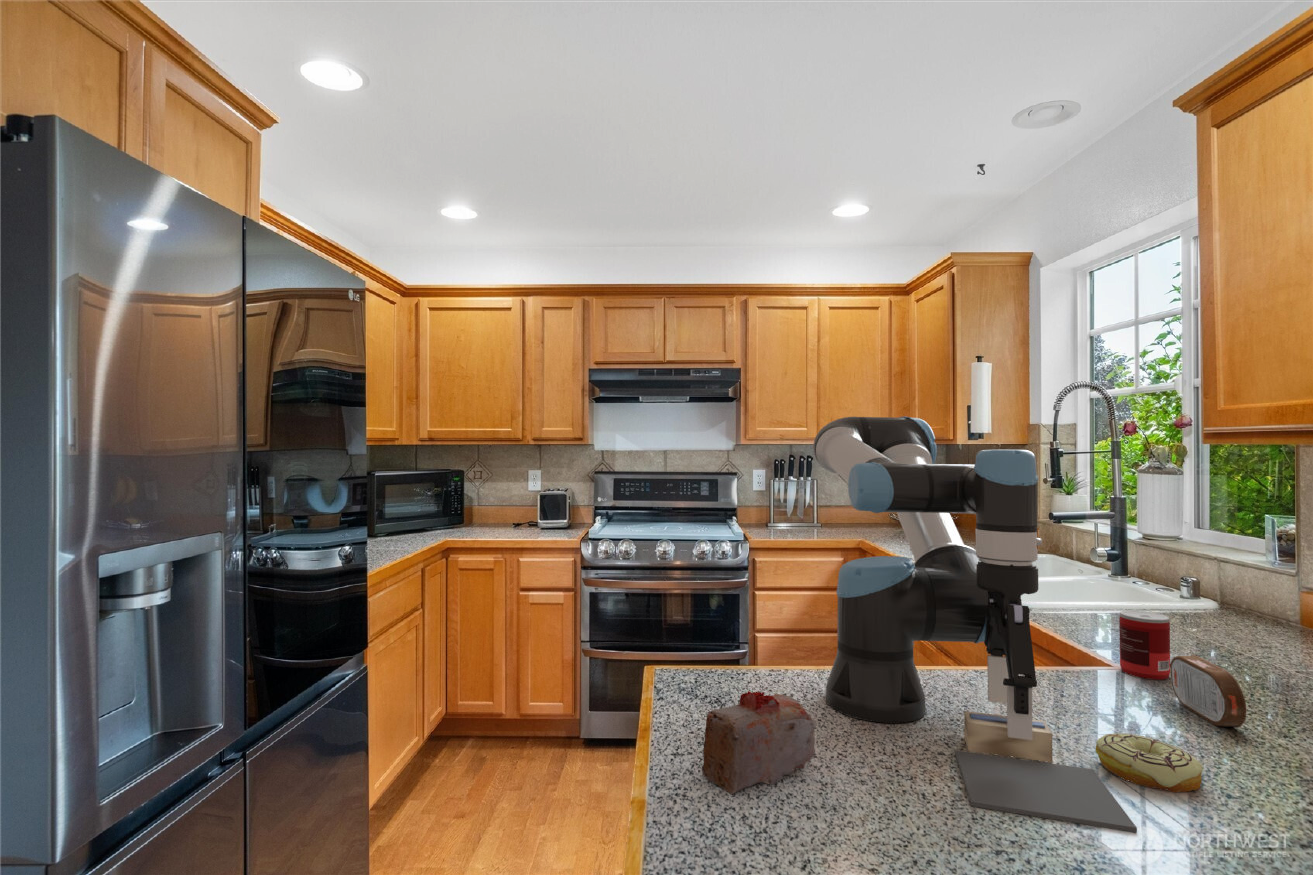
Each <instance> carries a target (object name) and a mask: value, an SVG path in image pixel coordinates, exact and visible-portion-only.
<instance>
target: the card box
mask: <svg viewBox="0 0 1313 875" xmlns="http://www.w3.org/2000/svg"><path fill="white" fill-rule="evenodd" d="M963 711H964V716H963V717H964V719H963V721H964V722H963V723H964V724H963V725H964V726H963V727H964V728H963V729H964V730H963V731H964V736H963V737H964V741H965V744H966V747H967V750H968V751H967V752H972V753H979V754H987V753H991V754H990V755H994V754H998V755H997V756H1001V755H1003V756H1002V757H1008V756H1013V757H1012V758H1015V757H1016V758H1015V759H1022V758H1023V759H1022V760H1029V759H1030V761H1036V760H1040V761H1039V762H1043V761H1045V762H1044V763H1052V764H1054V763H1053V733H1052V731H1051V729H1050V727H1049V726H1048V724H1047V723H1046V721H1045V720H1041V719H1040V720H1039V719H1033V718H1032V734H1033V740H1027V739H1019V738H1011V737H1008V735H1007V715H1000V714H993V713H985V712H977V711H976V712H975V711H969V710H968V711H967V710H963ZM1017 757H1018V758H1017ZM1046 761H1047V762H1046Z"/></svg>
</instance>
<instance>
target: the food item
mask: <svg viewBox="0 0 1313 875" xmlns="http://www.w3.org/2000/svg"><path fill="white" fill-rule="evenodd" d="M705 719H706V720H705V728H704V735H703V736H704V743H703V752H702V757H703V765H702V766H701V773H702V776H704V777H705V778H706V779H707V780H708V782H711V783H713V784H715V785H717V786H719V787H720V788H722V789H724V790H725V791H726V792H727V793H729V794H731V795H734V794H735V793H737V792H740V791H741V790H743V789H745V788H749V787H752V786H754V785H757V784H759V783H764V784H768V785H770V786H771V785H776V784H777V783H778V782H780V781H781V780H783V776H785V775H789V774H791V773H793V771H795V770H797V769H803V768H804V767H805V766H806V763H811V760H812V759H813V758H814V756H815V753H816V749H815V745H816V742H815V740H816V739H815V738H816V737H815V728H816V723H815V719H814V718H812V716H811V715H810V714H809V713H807V711H806V708H804V707H803V704H801V703H800V702H799V701H798V700H796V699H795V698H793V697H792V696H789V695H785V694H779V693H775V694H774V695H768V694H766V695H765V691H764V692H763V691H761V692H759V691H753V692H752V691H750V690H747V692H744V693H741V694H740V698H739V703H738V704H733V705H731V706H726V707H722V708H718V709H712V710H710V711H708V712H707V714H706V718H705Z"/></svg>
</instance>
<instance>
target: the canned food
mask: <svg viewBox="0 0 1313 875" xmlns="http://www.w3.org/2000/svg"><path fill="white" fill-rule="evenodd" d="M1118 620H1119V621H1118V622H1119V623H1118V624H1119V666H1120V669H1121V671H1122V672H1123V673H1124V674H1127V675H1130V676H1133V677H1137V678H1141V679H1147V680H1158V681H1163V680H1167V679H1169V677H1170V676H1171V668H1170V663H1171V625H1170V624H1171V623H1170V617H1169V616H1168V615H1167V616H1166V615H1164V614H1162V613H1161V614H1160V613H1158V612H1151V611H1144V610H1131V609H1130V610H1129V609H1128V610H1121V611H1119V619H1118Z"/></svg>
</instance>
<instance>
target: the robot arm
mask: <svg viewBox="0 0 1313 875" xmlns="http://www.w3.org/2000/svg"><path fill="white" fill-rule="evenodd" d="M935 440H936V437H935V434H934V431H933V429H932V427H931V426H930V425H929V423H928V422H926V421H925V420H924V419H921V418H919V417H911V416H906V415H905V416H899V417H889V416H888V417H882V416H881V417H880V416H879V417H877V416H845V417H842V418H837V419H835V420H832V421H830V422H828V423H827V424H825V425H824V426H822V427H821V429H820V430H819V431H818V432H817V434H816V436H815V438H814V439H813V446H812V448H813V453H814V456H815V459H816V461H817V462H818V464H819V465H820V466H821V467H822V468H823V469H825V470H827V471H828V472H830V473H833V474H838V475H839V476H840V477H841V478H842V480H845V481H846V482H847V487H848V497H849V500H850V504H851V506H852V507H853V508H854V510H857V511H860V512H872V513H875V514H879V513H896V514H897V516H898V519H899V522H900V525H901V527H902V530H903V532H904V535H905V538H906V541H907V543H908V545H909V548H910V551H911V554H912V556H913V558H914V561H913V559H911V558H909V557H906V556H900V555H898V556H897V555H895V556H893V555H892V556H888V555H882V556H881V555H880V556H878V555H877V556H870V557H869V556H868V557H862V558H861V557H860V558H856V559H853V560H849V561H847V562H845V563H843V564H842V565H841V567H840V568H839V571H838V576H837V588H836V591H835V592H836V595H837V633H836V634H837V652H836V655H835V659H834V662H833V665H832V667H831V670H830V673H829V676H828V679H827V682H826V686H825V701H826V703H827V705H828V706H829V707H831V708H832V709H834V710H835V711H837V712H839V713H841V714H843V715H846V716H849V717H852V718H855V719H859V720H865V721H869V722H874V723H875V722H876V723H884V724H885V723H887V724H889V723H890V724H900V723H908V722H912V721H917V720H919V719H921V718H923V717H924V716H925V714H926V696H925V692H924V689H923V687H922V683H921V680H920V676H919V674H918V670H917V668H916V665H915V660H914V643H915V642H918V641H919V642H920V641H921V642H922V641H923V642H953V643H954V642H957V643H959V642H960V643H961V642H962V643H974V644H980V643H983V644H984V645H985V647H986V653H987V656H986V657H987V658H986V659H987V701H988V702H989V703H998V704H1006V716H1007V735H1008V737H1011V738H1019V739H1027V740H1033V734H1032V719H1033V688H1037V686H1038V680H1037V675H1036V667H1035V666H1036V665H1035V658H1034V651H1033V643H1032V642H1033V641H1032V634H1031V626H1030V613H1031V609H1030V608H1029V605H1023V604H1022V596H1023V595H1031V594H1032V595H1033V594H1036V593H1037V592H1038V591H1039V567H1038V566H1037V565H1036V564H1034V562H1036V561H1038V559H1039V558H1038V554H1039V553H1038V546H1042V544H1043V540H1042V538H1039V537H1038V506H1039V505H1038V494H1039V492H1038V487H1039V486H1038V484H1039V476H1038V474H1037V472H1038V471H1037V460H1036V455H1035V454H1034V452H1032V451H1030V450H1027V449H982V450H979V451H978V452H977V454H976V455H975V462H974V464H972V463H967V464H962V463H958V464H949V463H948V464H947V463H946V464H944V463H941V464H939V463H938V464H937V463H936V460H937V459H936V458H937V450H938V449H937V443H936V442H935ZM951 514H971V515H975V518H976V519H975V521H976V524H975V549H974V548H972V547H971V546H968V545H965V543H964V541H963V539H962V536H961V533H960V532H959V529H958V528H957V526H956V524H955V522H954V520H953V518H952V515H951Z"/></svg>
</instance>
